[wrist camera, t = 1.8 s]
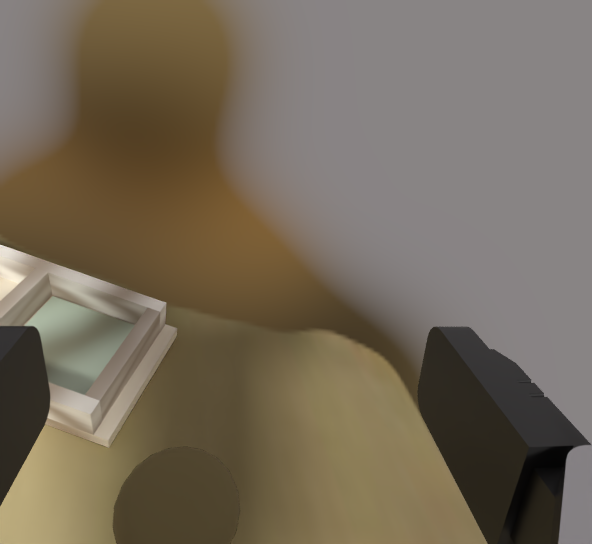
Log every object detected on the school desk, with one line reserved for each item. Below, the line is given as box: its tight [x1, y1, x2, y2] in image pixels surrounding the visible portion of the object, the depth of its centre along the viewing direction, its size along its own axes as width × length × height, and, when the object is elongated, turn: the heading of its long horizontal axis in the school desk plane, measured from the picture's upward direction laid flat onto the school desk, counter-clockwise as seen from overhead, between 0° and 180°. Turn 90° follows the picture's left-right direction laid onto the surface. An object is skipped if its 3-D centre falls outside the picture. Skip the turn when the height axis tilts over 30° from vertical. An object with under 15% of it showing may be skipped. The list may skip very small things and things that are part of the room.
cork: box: [113, 447, 240, 544], centre depth 23 cm, size 6×6×11 cm
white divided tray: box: [0, 245, 177, 448], centre depth 34 cm, size 21×10×4 cm, turn 75°
